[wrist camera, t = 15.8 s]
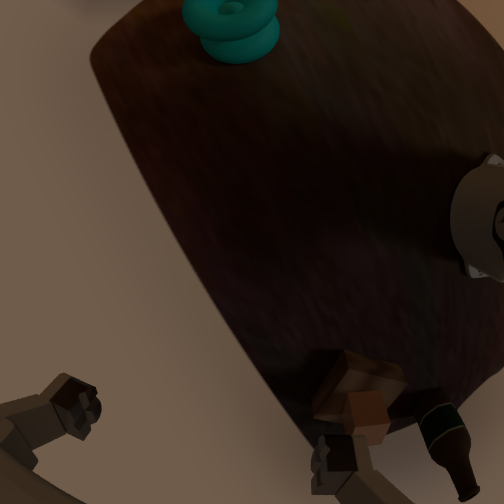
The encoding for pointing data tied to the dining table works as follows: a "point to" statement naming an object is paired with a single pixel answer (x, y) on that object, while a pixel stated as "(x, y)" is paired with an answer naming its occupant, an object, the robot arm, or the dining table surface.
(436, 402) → the beer bottle
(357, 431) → the terracotta block
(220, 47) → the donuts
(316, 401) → the walnut block
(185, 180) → the dining table surface
